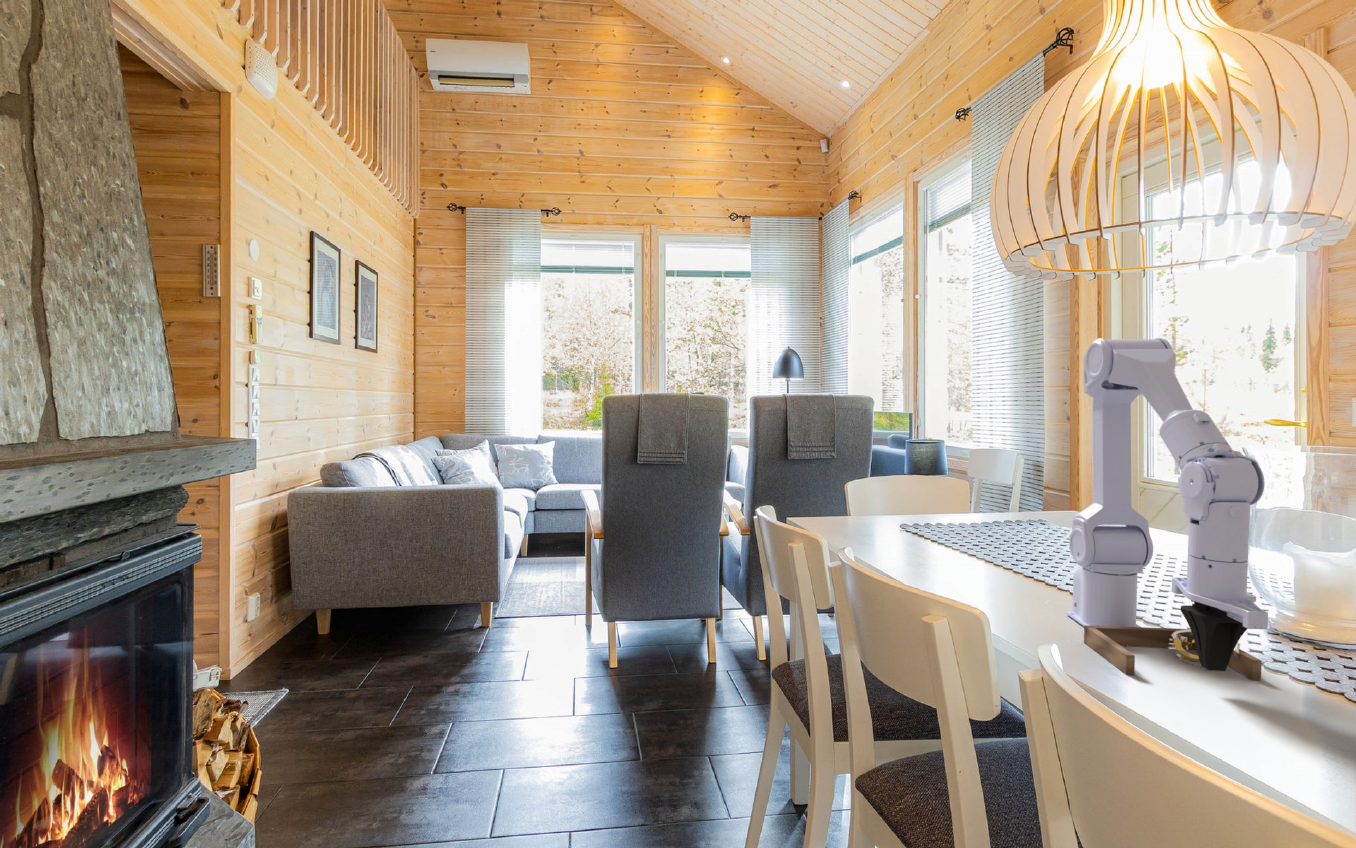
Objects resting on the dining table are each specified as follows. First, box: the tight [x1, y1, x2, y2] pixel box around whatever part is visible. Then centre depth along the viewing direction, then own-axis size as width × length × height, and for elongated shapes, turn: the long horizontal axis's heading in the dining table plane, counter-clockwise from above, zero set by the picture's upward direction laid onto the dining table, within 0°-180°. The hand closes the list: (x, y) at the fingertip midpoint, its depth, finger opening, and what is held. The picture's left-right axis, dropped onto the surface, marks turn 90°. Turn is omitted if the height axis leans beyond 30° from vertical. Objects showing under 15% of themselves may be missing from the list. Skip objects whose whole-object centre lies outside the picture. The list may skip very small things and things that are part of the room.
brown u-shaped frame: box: [1083, 625, 1262, 681], centre depth 94 cm, size 12×16×2 cm
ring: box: [1168, 628, 1241, 666], centre depth 94 cm, size 7×3×8 cm
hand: (1213, 668), depth 85 cm, fingers closed
